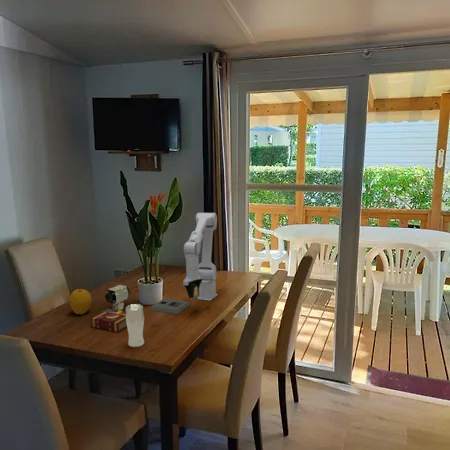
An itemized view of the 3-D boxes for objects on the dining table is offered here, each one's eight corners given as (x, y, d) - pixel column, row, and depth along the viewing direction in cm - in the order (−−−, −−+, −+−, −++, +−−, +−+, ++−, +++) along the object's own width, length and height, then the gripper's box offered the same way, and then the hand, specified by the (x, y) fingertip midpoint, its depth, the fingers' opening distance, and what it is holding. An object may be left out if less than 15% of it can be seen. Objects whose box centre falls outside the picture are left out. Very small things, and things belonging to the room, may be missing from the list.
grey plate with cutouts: (164, 301, 201) (164, 298, 200) (189, 305, 195) (189, 301, 195) (151, 310, 190) (151, 306, 189) (177, 314, 184) (177, 310, 184)
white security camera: (105, 312, 187) (104, 288, 185) (124, 304, 197) (122, 281, 195) (114, 314, 185) (112, 290, 183) (132, 306, 194) (130, 283, 192)
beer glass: (138, 349, 151) (136, 311, 148) (123, 346, 153) (121, 309, 151) (148, 341, 157) (147, 305, 155) (133, 338, 160) (131, 303, 157)
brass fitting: (191, 296, 188) (191, 284, 187) (199, 297, 186) (198, 285, 185) (187, 299, 184) (187, 287, 183) (195, 300, 183) (194, 288, 182)
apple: (96, 310, 191) (94, 286, 189) (84, 318, 181) (82, 293, 179) (78, 308, 193) (77, 285, 191) (66, 316, 184) (64, 291, 182)
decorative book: (118, 333, 165) (117, 322, 164) (88, 327, 172) (87, 316, 171) (135, 323, 175) (134, 312, 174) (106, 317, 182) (106, 307, 181)
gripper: (192, 272, 175) (193, 301, 177) (207, 264, 188) (207, 291, 190) (178, 270, 177) (179, 300, 180) (193, 263, 191) (194, 290, 193)
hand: (193, 295), depth 185 cm, fingers closed on brass fitting, 4 cm apart
